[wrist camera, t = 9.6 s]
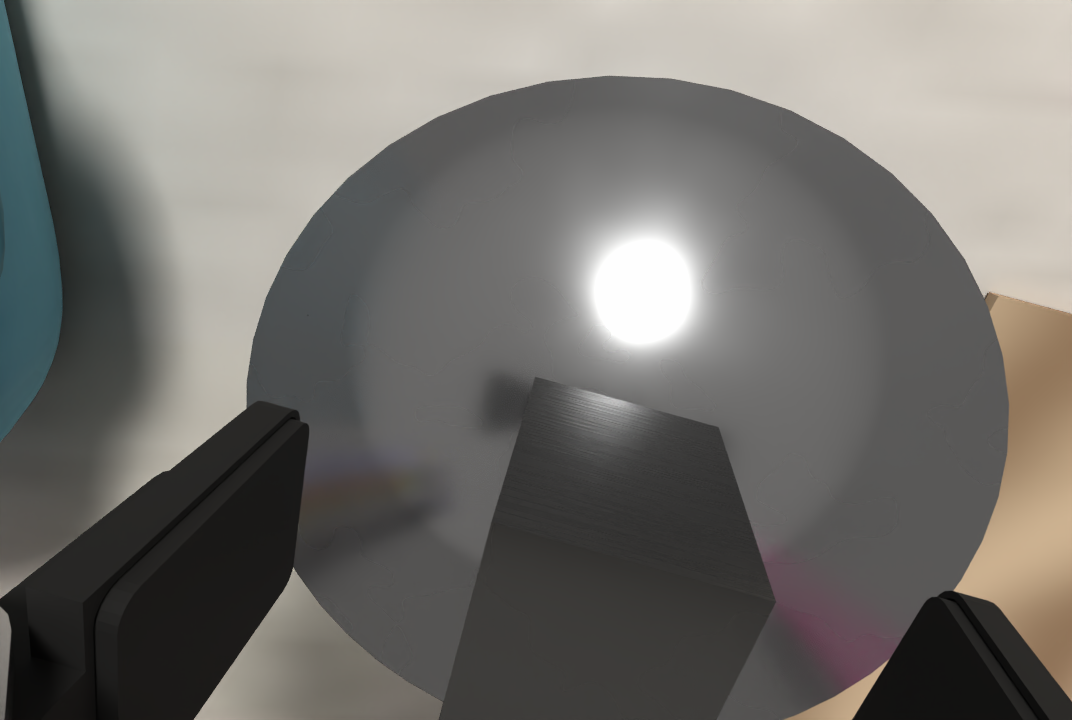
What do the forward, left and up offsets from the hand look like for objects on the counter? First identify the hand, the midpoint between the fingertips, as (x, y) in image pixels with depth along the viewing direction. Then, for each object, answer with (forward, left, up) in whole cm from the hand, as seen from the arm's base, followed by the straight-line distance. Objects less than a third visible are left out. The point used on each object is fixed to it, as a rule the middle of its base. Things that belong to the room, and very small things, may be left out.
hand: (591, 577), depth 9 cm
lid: (0, 0, -4) cm, 4 cm away
